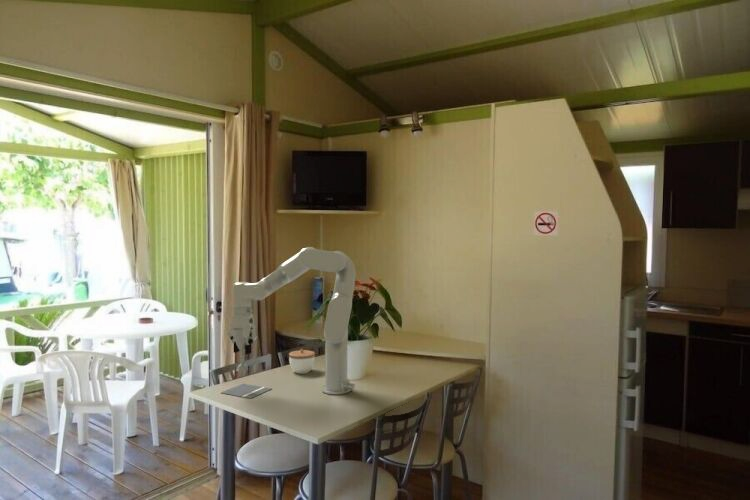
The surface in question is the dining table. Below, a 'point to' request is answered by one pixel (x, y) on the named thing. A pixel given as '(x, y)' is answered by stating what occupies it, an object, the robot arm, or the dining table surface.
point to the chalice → (241, 345)
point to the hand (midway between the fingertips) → (242, 352)
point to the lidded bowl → (302, 360)
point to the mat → (246, 391)
